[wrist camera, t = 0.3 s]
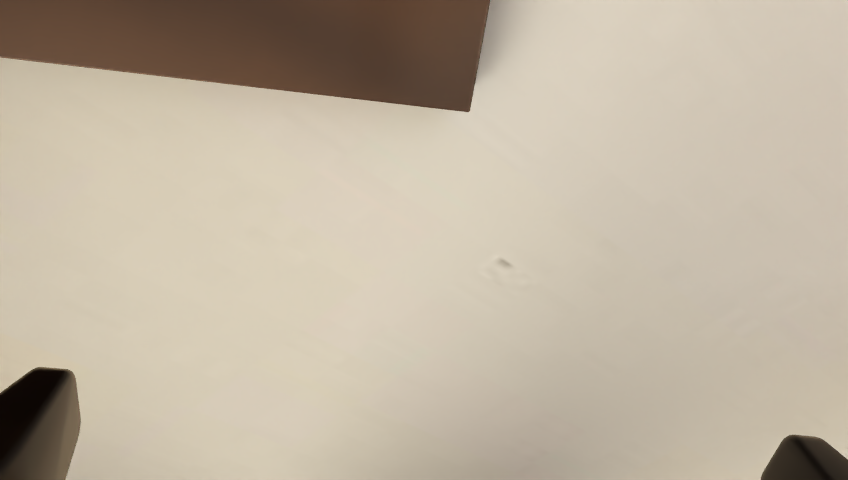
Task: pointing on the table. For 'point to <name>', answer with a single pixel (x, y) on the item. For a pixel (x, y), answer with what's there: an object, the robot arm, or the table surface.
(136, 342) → the table surface
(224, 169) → the table surface
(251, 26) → the wooden block stand
